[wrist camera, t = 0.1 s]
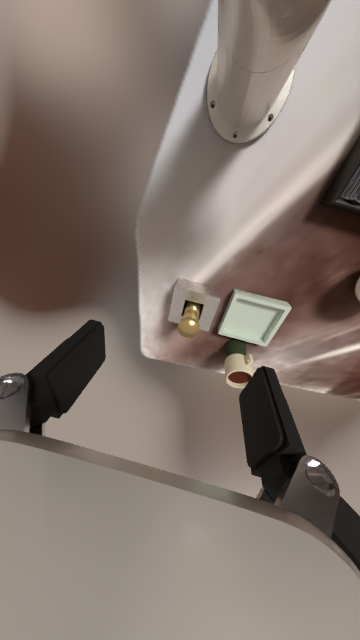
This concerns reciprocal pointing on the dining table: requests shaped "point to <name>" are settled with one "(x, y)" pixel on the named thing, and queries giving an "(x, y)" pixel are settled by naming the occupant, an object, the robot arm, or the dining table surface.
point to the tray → (252, 317)
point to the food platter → (346, 184)
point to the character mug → (237, 364)
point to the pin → (190, 320)
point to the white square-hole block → (195, 294)
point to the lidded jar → (357, 289)
